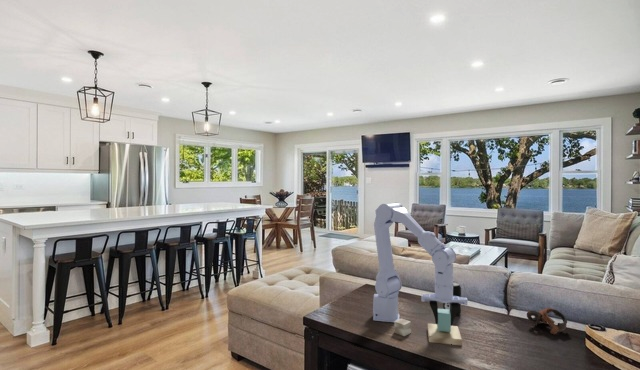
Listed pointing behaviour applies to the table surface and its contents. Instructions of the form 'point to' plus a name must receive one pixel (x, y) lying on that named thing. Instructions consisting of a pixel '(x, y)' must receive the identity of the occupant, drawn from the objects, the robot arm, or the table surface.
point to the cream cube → (402, 327)
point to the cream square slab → (444, 335)
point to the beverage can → (455, 293)
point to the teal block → (444, 320)
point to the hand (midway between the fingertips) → (443, 323)
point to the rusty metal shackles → (548, 319)
